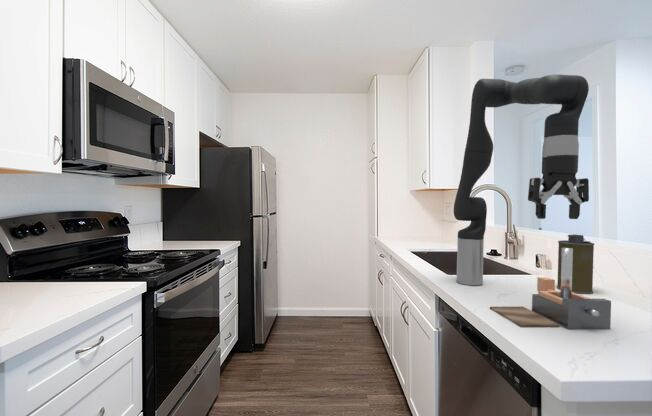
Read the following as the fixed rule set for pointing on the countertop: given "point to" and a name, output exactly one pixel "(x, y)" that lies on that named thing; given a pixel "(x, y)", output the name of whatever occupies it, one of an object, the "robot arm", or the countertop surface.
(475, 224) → the robot arm
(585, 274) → the canister
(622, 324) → the countertop surface
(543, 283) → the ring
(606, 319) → the block
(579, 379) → the countertop surface
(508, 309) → the board
